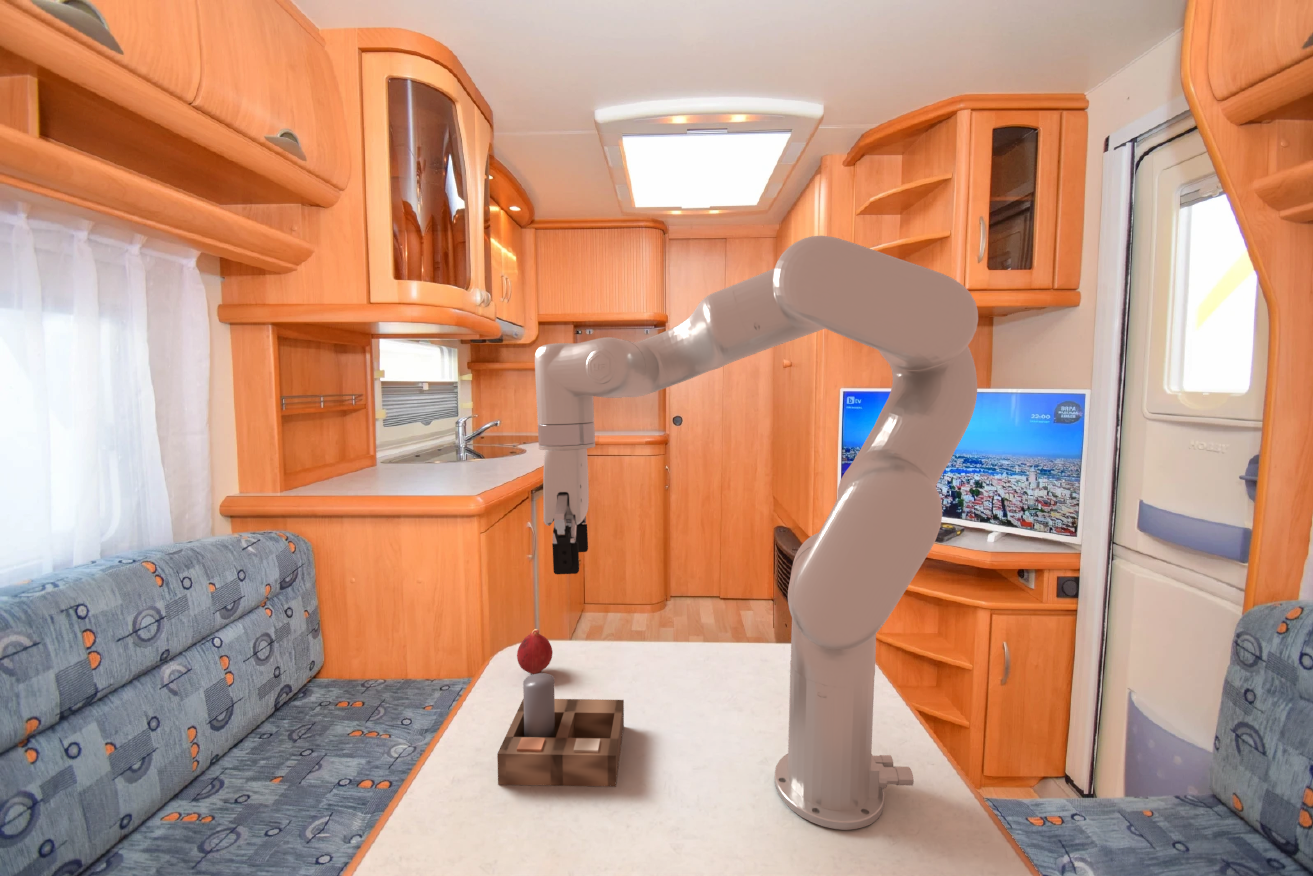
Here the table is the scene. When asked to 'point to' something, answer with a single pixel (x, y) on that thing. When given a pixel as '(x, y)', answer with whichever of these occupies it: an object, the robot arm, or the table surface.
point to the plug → (539, 706)
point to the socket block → (566, 746)
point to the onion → (534, 653)
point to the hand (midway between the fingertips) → (572, 561)
